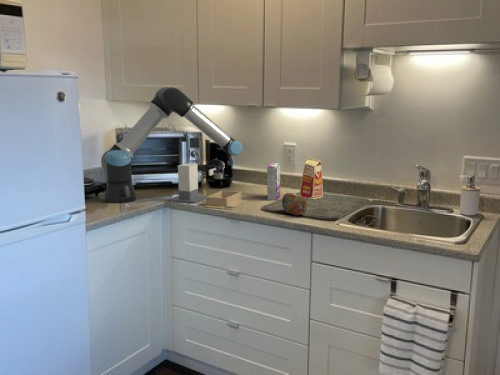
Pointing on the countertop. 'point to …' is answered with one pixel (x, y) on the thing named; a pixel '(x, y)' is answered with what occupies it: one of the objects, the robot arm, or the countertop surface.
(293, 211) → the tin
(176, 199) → the board
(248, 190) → the countertop surface
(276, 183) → the candy bar box
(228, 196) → the carton
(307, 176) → the milk carton
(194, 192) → the box
